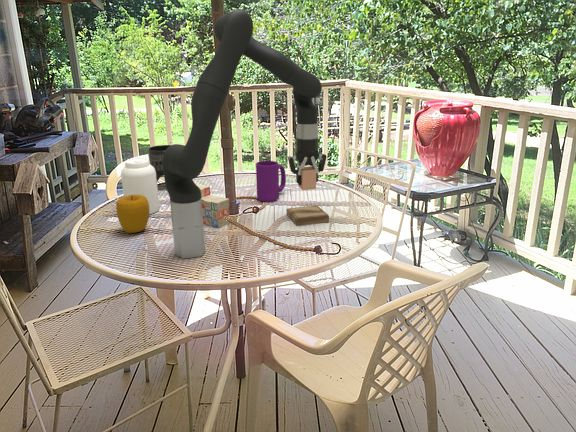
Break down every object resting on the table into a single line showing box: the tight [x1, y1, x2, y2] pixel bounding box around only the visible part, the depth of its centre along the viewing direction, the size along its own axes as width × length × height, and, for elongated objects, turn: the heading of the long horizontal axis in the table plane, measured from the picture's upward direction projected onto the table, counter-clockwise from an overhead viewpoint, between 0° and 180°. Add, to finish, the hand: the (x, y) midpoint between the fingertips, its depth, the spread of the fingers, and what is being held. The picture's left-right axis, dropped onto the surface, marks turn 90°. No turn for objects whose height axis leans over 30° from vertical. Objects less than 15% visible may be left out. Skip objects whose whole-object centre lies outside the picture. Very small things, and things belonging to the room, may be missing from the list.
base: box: [286, 205, 330, 227], centre depth 180 cm, size 12×12×3 cm
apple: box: [115, 195, 150, 234], centre depth 169 cm, size 11×11×13 cm
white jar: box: [120, 157, 160, 215], centre depth 187 cm, size 12×12×20 cm
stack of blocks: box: [195, 183, 230, 229], centre depth 179 cm, size 21×6×12 cm, turn 54°
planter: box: [147, 144, 172, 183], centre depth 217 cm, size 13×13×18 cm
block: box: [297, 165, 317, 191], centre depth 175 cm, size 5×5×7 cm
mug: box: [255, 160, 287, 203], centre depth 203 cm, size 9×16×15 cm, turn 142°
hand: (307, 183), depth 176 cm, fingers closed on block, 5 cm apart
